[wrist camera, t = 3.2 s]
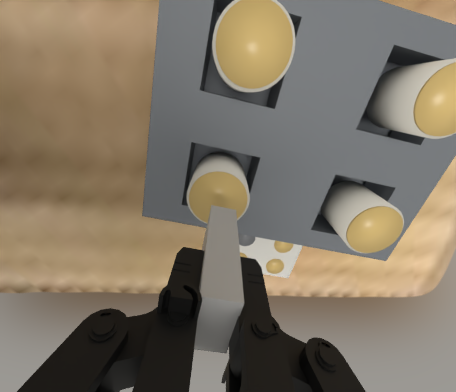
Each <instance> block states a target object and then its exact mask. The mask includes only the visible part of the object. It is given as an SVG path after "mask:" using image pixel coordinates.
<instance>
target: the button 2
mask: <svg viewBox="0 0 456 392" xmlns="http://www.w3.org/2000/svg"><path fill="white" fill-rule="evenodd" d="M212 50H213V57H214V61H215V64H216V67H217V70H218V73H219V75H220V77H221V79H222V80H223V82H224V83H225V84H226V85H227V86H228V87H230V88H231V89H233V90H235V91H238V92H259V91H263V90H266V89H268V88H270V87H272V86H273V85H274V84H276V83H277V82H278V81H279V80H280V79H281V78H282V77H283V76H284V74H285V73H286V71H287V70H288V68H289V66H290V64H291V61H292V59H293V55H294V51H295V30H294V26H293V23H292V20H291V18H290V16H289V14H288V12H287V10H286V9H285V8H284V7H283V5H282V4H281V3H279V2H278V1H277V0H234V1H232V2H231V3H230V4H229V5H228V6H227V7H226V8H225V9H224V11H223V12H222V14H221V15H220V17H219V19H218V21H217V23H216V26H215V29H214V33H213V40H212Z"/></svg>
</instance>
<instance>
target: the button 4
mask: <svg viewBox="0 0 456 392" xmlns="http://www.w3.org/2000/svg"><path fill="white" fill-rule="evenodd" d="M366 111H367V115H368V118H369V119H370V121H371V122H372V123H373V124H374V125H376V126H378V127H380V128H385V129H389V130H394V131H398V132H403V133H407V134H412V135H416V136H421V137H425V138H430V139H440V138H445V137H448V136H451V135H453V134H455V133H456V58H454V59H447V60H440V61H434V62H427V63H420V64H414V65H407V66H401V67H396V68H393V69H391V70H389V71H387V72H386V73H384V74H383V75H382V76H381V77H380V78H379V79H378V82H377V84H376V86H375V88H374V91H373V93H372V95H371V97H370V99H369V102H368V104H367V106H366Z"/></svg>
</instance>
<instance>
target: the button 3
mask: <svg viewBox="0 0 456 392" xmlns="http://www.w3.org/2000/svg"><path fill="white" fill-rule="evenodd" d="M320 209H321V213H322V215H323V216H324V217H325V219H326V220H327V221H328V222H329V224H330V225H331V226H332V227H333V229H334V230H335V231H336V232H337V234H338V235H339V236H340V237H341V239H342V240H343V241H344V242H345V243H346V245H347V246H348V247H349V248H350V249H351V250H353V251H355V252H359V253H373V252H378V251H381V250H383V249H385V248H387V247H389V246H390V245H391V244H393V243H394V242H395V241H396V240H397V238H398V237H399V236H400V234H401V232H402V230H403V226H404V218H403V215H402V213H401V211H400V210H399V209H398V208H396V207H395V206H393V205H392V204H390V203H389V202H387V201H386V200H384V199H383V198H381V197H380V196H378V195H377V194H375V193H374V192H372V191H371V190H369V189H368V188H366V187H365V186H363V185H362V184H360V183H358V182H355V181H344V182H340V183H337V184H335V185H334V186H332V187H331V188H330V189H329V190H328V193H327V195H326V197H325V199H324V202H323V204H322V206H321V208H320Z"/></svg>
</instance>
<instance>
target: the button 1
mask: <svg viewBox="0 0 456 392" xmlns="http://www.w3.org/2000/svg"><path fill="white" fill-rule="evenodd" d="M249 202H250V193H249V189H248V185H247V181H246V177H245V173H244V169H243V166H242V164H241V163H240V162H239V160H238V159H237V158H235V157H234V156H233V155H231V154H228V153H225V152H214V153H210V154H208V155H206V156H205V157H203V158H202V159H201V160H200V161H199V163H198V164H197V166H196V169H195V171H194V174H193V177H192V179H191V182H190V185H189V187H188V190H187V204H188V207H189V209H190V211H191V212H192V214H193V215H194V216H195V217H196V218H197V219H199V220H200V221H202V222H204V223H206V224H207V223H208V219H209V214H210V209H211V205H214V206H219V207H224V208H229V209H234V210H236V214H237V220H238V219H240V218H241V217H242V216H243V215H244V213H245V212H246V210H247V209H248V206H249Z"/></svg>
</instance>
